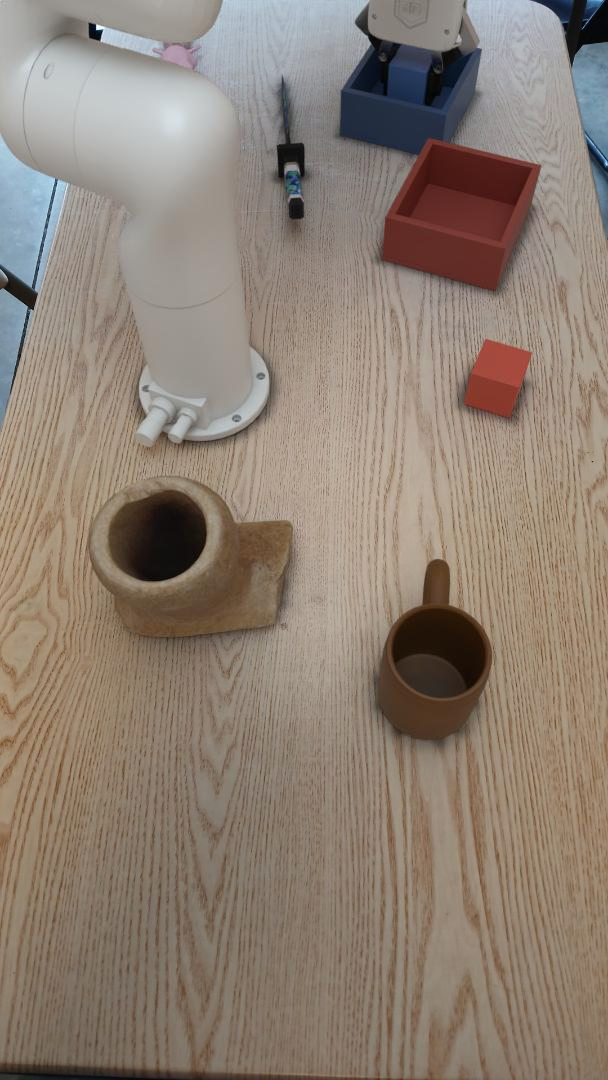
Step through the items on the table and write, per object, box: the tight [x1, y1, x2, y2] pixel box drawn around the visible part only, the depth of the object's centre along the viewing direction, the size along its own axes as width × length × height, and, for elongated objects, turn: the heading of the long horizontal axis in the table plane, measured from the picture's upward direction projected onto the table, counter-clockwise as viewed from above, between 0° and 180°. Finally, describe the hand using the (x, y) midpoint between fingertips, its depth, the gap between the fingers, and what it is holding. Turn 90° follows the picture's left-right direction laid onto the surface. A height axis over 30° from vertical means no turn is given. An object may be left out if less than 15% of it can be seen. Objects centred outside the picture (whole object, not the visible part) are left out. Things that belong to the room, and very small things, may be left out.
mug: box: [377, 558, 493, 741], centre depth 62 cm, size 12×8×9 cm, turn 175°
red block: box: [463, 338, 533, 419], centre depth 78 cm, size 4×4×4 cm
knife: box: [276, 74, 306, 221], centre depth 96 cm, size 31×3×4 cm, turn 1°
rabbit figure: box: [151, 41, 202, 71], centre depth 104 cm, size 6×6×15 cm
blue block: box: [387, 45, 432, 106], centre depth 97 cm, size 4×4×4 cm
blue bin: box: [339, 43, 483, 155], centre depth 99 cm, size 14×13×6 cm
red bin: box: [381, 138, 542, 292], centre depth 88 cm, size 14×13×6 cm
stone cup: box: [87, 475, 294, 638], centre depth 63 cm, size 15×12×15 cm
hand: (410, 92), depth 99 cm, fingers closed on blue block, 4 cm apart
